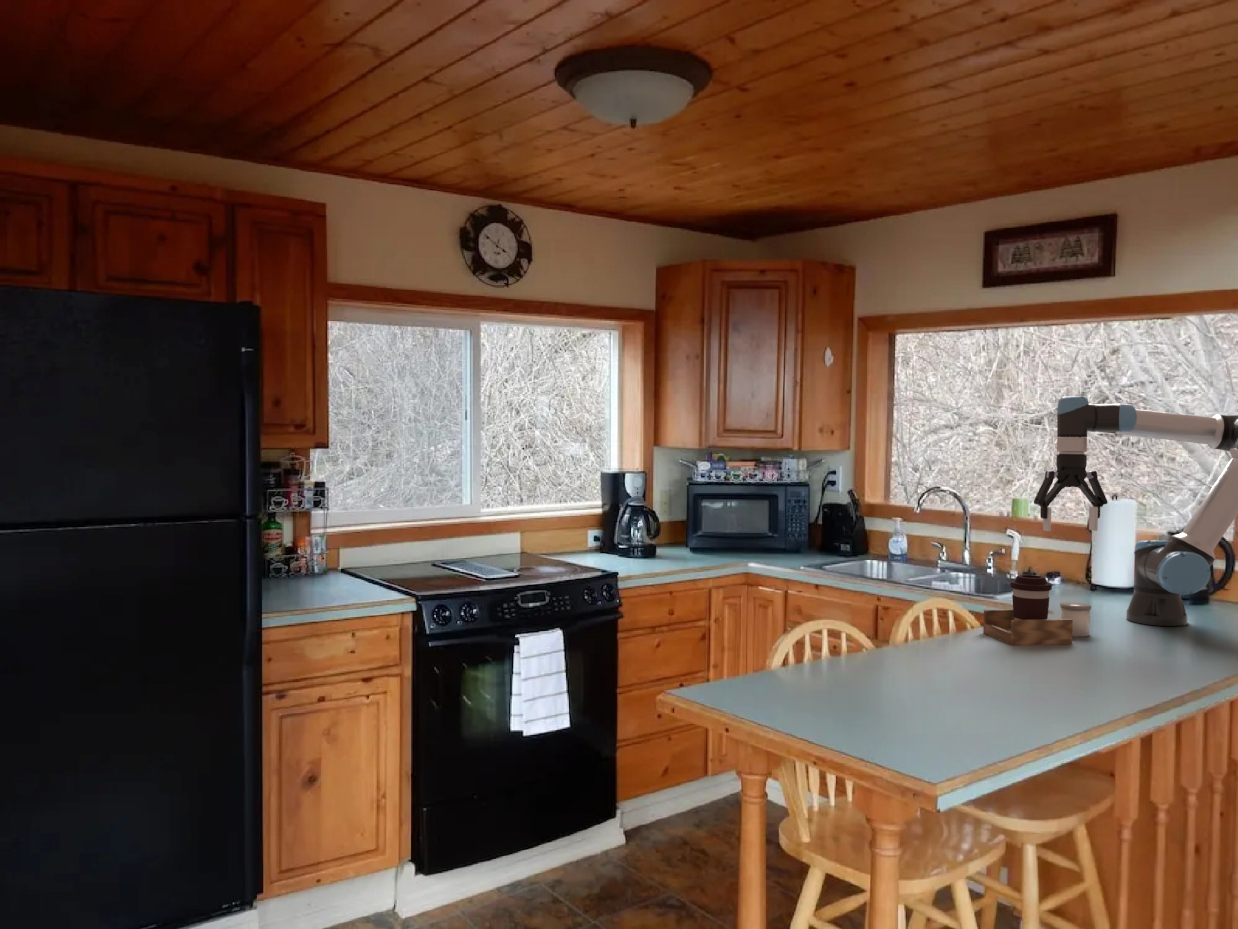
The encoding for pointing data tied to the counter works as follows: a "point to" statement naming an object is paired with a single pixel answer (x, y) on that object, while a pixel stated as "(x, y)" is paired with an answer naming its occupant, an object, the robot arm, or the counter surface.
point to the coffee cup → (1030, 597)
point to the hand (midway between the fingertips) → (1070, 530)
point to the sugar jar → (1077, 617)
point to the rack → (1026, 629)
